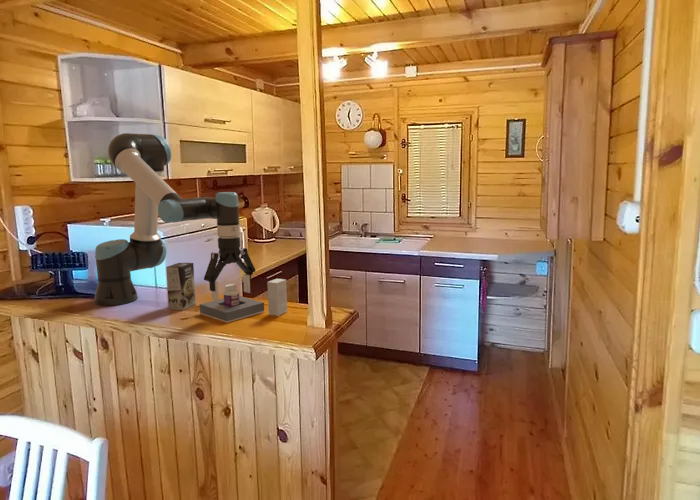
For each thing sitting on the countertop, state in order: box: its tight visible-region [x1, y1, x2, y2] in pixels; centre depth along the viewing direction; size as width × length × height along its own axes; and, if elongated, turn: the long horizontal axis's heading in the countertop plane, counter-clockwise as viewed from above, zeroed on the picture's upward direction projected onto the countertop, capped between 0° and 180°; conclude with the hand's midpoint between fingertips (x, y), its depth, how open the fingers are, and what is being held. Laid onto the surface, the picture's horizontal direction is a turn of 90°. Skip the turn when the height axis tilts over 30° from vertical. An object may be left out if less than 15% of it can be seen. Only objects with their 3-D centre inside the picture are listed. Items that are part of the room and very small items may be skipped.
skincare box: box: [267, 278, 288, 317], centre depth 174 cm, size 6×4×12 cm
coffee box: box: [165, 262, 197, 311], centre depth 183 cm, size 9×6×16 cm
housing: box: [199, 295, 265, 323], centre depth 176 cm, size 16×16×4 cm
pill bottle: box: [223, 283, 240, 307], centre depth 175 cm, size 5×5×10 cm
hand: (231, 296), depth 175 cm, fingers open, 13 cm apart
